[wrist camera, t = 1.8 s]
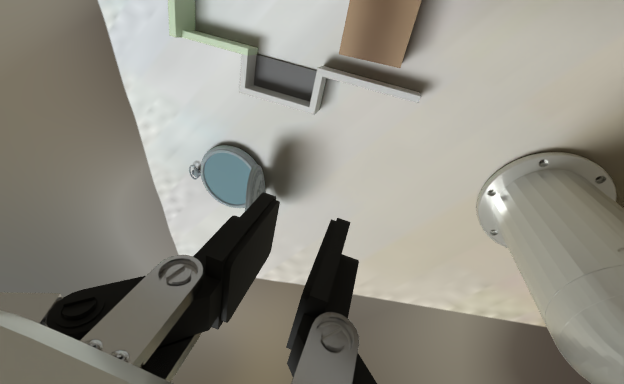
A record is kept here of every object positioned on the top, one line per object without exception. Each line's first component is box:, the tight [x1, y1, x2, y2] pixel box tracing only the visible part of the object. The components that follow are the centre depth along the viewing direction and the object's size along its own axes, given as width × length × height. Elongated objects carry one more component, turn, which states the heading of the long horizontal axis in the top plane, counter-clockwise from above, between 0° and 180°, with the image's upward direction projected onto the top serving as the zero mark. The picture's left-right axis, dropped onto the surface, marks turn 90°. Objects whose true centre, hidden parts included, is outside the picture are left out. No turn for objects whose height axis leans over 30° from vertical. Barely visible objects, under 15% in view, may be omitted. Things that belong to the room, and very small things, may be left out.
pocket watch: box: [189, 145, 266, 211], centre depth 38 cm, size 10×11×15 cm
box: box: [168, 0, 421, 115], centre depth 28 cm, size 28×20×4 cm
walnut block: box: [339, 0, 422, 68], centre depth 27 cm, size 6×6×4 cm
